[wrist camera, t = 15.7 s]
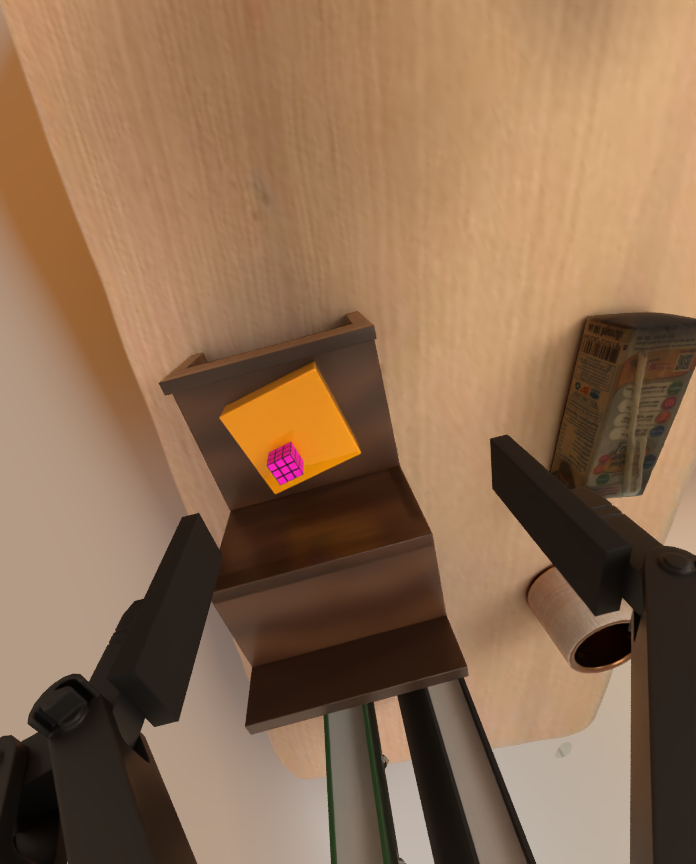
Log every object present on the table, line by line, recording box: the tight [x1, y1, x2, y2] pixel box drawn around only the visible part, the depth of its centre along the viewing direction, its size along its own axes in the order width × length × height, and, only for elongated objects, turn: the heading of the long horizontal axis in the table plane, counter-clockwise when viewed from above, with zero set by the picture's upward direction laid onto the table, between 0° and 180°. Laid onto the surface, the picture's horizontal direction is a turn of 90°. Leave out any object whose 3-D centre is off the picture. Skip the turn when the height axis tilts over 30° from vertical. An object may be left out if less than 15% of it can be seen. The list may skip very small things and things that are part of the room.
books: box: [324, 677, 536, 864], centre depth 38 cm, size 27×15×32 cm, turn 7°
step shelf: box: [159, 311, 469, 735], centre depth 29 cm, size 23×16×20 cm
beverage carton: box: [551, 313, 696, 499], centre depth 37 cm, size 8×19×7 cm, turn 3°
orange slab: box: [219, 361, 361, 494], centre depth 27 cm, size 8×8×4 cm
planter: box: [527, 566, 633, 673], centre depth 49 cm, size 11×11×10 cm
